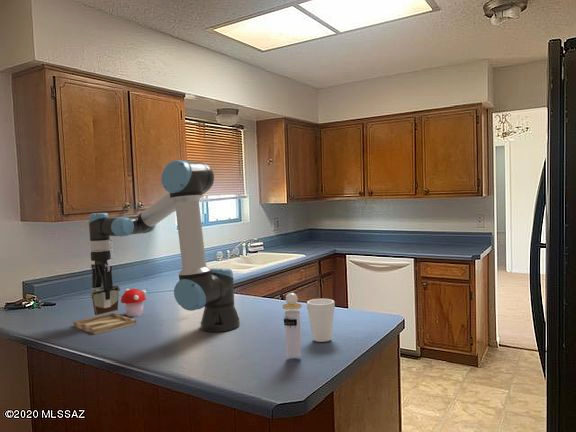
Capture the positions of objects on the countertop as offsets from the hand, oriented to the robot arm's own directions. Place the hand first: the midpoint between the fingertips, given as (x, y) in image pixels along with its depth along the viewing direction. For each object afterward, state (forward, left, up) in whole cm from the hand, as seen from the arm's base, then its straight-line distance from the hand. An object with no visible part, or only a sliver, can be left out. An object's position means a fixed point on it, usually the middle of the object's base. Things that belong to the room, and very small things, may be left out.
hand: (103, 306), depth 185 cm
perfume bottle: (-89, -18, -8) cm, 91 cm away
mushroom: (+5, -16, -8) cm, 19 cm away
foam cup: (-85, -37, -8) cm, 93 cm away
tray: (0, 0, -8) cm, 8 cm away
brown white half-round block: (0, 0, -3) cm, 3 cm away
